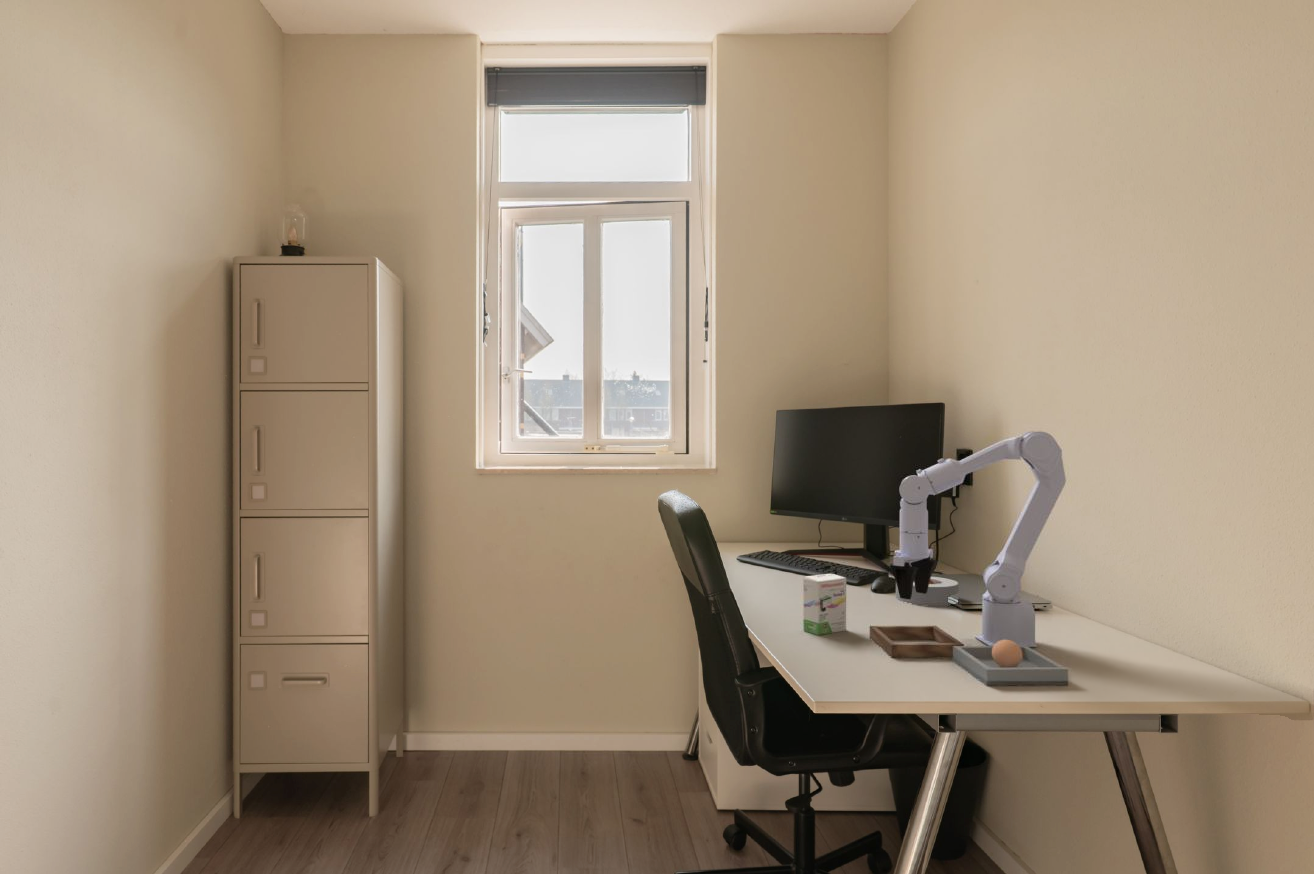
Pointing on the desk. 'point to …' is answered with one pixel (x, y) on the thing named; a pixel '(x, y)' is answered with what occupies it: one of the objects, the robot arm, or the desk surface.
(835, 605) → the ink box
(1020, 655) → the ball
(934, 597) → the tape roll
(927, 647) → the square wooden frame
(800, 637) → the desk surface
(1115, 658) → the desk surface
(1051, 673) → the tray
